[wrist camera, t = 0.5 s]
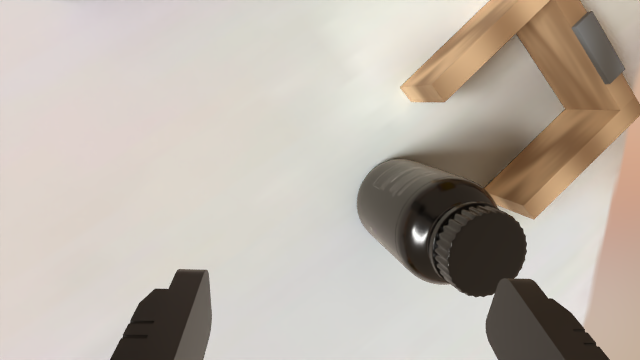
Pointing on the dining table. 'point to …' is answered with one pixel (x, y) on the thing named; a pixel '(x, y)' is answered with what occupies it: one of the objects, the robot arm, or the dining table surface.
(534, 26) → the frame
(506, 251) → the supplement bottle
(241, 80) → the dining table surface
